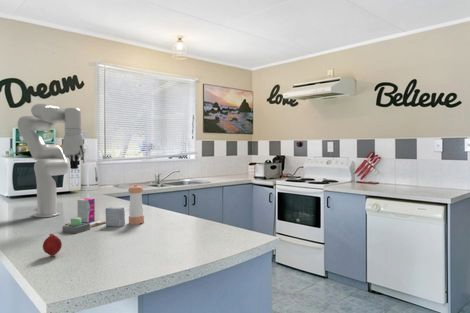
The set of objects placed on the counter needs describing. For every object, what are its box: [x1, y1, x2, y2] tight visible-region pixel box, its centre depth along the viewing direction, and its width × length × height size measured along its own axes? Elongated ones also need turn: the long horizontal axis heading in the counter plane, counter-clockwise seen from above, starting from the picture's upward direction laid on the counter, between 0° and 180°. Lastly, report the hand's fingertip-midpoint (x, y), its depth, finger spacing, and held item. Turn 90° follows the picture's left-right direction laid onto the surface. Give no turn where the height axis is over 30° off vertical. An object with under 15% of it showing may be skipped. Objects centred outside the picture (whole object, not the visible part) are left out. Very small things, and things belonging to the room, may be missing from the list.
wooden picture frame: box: [64, 220, 106, 229], centre depth 168 cm, size 16×11×1 cm
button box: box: [61, 223, 91, 234], centre depth 155 cm, size 8×8×2 cm
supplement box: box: [77, 197, 96, 223], centre depth 168 cm, size 6×6×12 cm
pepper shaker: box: [127, 183, 145, 225], centre depth 169 cm, size 7×7×19 cm
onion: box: [42, 233, 63, 257], centre depth 119 cm, size 6×6×8 cm
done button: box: [70, 216, 82, 227], centre depth 155 cm, size 4×4×5 cm
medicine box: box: [105, 206, 126, 228], centre depth 164 cm, size 8×4×9 cm, turn 71°
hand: (74, 168), depth 173 cm, fingers closed
